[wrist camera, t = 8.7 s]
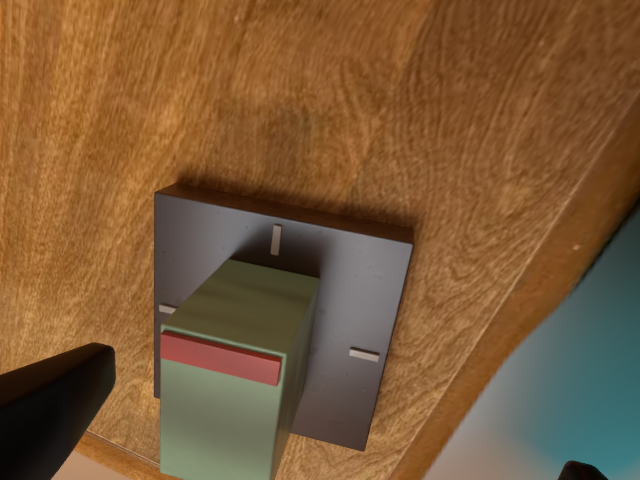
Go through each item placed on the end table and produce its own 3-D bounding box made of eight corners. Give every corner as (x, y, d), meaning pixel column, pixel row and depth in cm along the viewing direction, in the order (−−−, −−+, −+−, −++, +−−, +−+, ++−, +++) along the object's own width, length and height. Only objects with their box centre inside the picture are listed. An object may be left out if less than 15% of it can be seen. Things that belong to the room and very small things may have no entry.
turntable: (414, 228, 20) (415, 244, 18) (367, 424, 25) (364, 455, 23) (175, 182, 22) (151, 192, 20) (171, 375, 26) (151, 399, 24)
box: (301, 398, 22) (265, 509, 16) (218, 378, 23) (155, 478, 17) (320, 277, 20) (285, 358, 14) (227, 258, 20) (155, 327, 14)
